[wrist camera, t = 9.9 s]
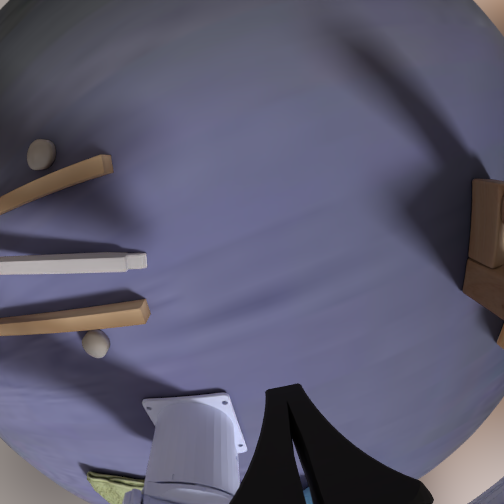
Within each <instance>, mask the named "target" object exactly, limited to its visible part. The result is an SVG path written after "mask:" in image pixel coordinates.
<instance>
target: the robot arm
mask: <svg viewBox="0 0 504 504" xmlns="http://www.w3.org/2000/svg"><path fill="white" fill-rule="evenodd" d="M265 394H266V404H265V412H264V419H263V423H262V428H261V433H260V436H259V440H258V443H257V446H256V450H255V452H254V455H253V458H252V460H251V463H250V465H249V468H248V470H247V472H246V474H245V476H244V478H243V480H242V482H241V484H240V479H239V463H238V453H242V452H246V451H247V446H246V443H245V440H244V438H243V435H242V432H241V429H240V426H239V423H238V420H237V417H236V415H235V412H234V409H233V406H232V403H231V400H230V396H229V395H228V394H227V393H224V392H222V393H214V394H205V395H195V396H184V397H170V398H152V399H144V400H143V402H142V405H143V407H144V409H145V410H146V412H147V414H148V415H149V417H150V419H151V420H152V422H153V424H154V425H155V427H156V428H155V432H154V437H153V442H152V447H151V451H150V456H149V461H148V466H147V472H146V477H145V482H144V487H143V489H142V491H141V490H138V489H132V490H131V491H128V492H126V493H125V495H124V498H123V502H122V504H306V500H305V497H304V493H303V489H302V485H301V481H300V477H299V473H298V469H297V465H296V461H295V457H294V450H293V442H294V445H295V448H296V451H297V454H298V456H299V459H300V462H301V465H302V468H303V470H304V473H305V476H306V479H307V482H308V486H309V490H310V494H311V498H312V502H313V504H432V503H433V501H434V499H433V497H432V495H431V493H430V492H429V490H428V489H427V488H426V487H425V485H424V484H423V483H422V482H421V481H419V480H417V479H414V478H411V477H409V476H406V475H404V474H402V473H400V472H397V471H395V470H393V469H391V468H389V467H387V466H385V465H384V464H382V463H380V462H379V461H377V460H375V459H374V458H372V457H370V456H369V455H367V454H366V453H364V452H363V451H362V450H360V449H359V448H357V447H356V446H355V445H354V444H352V443H351V442H350V441H349V440H347V439H346V438H345V437H344V436H343V435H342V434H341V433H339V432H338V431H337V430H336V429H335V428H334V427H333V426H332V425H331V424H330V423H329V422H328V421H327V419H326V418H325V417H324V416H323V415H322V414H321V413H320V412H319V410H318V409H317V408H316V407H315V405H314V404H313V403H312V401H311V400H310V399H309V397H308V396H307V394H306V393H305V391H304V390H303V388H302V386H301V385H300V384H293V385H288V386H283V387H278V388H273V389H268V390H267V391H266V392H265ZM223 401H226V402H223ZM150 407H151V408H150ZM292 439H293V442H292ZM468 504H504V477H503V478H502V479H500V480H499V481H498V482H497V483H495V484H494V485H493V486H492V487H490V488H489V489H488V490H486V491H485V492H484V493H482V494H481V495H480V496H478V497H477V498H476V499H474V500H473V501H471V502H470V503H468Z"/></svg>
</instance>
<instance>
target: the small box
mask: <svg viewBox="0 0 504 504" xmlns="http://www.w3.org/2000/svg"><path fill="white" fill-rule="evenodd" d="M497 344H498V345H499V346H500V347H501V348H502V349H504V325H503V327H502V330H501V333H500V335H499V337H498V340H497Z"/></svg>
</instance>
